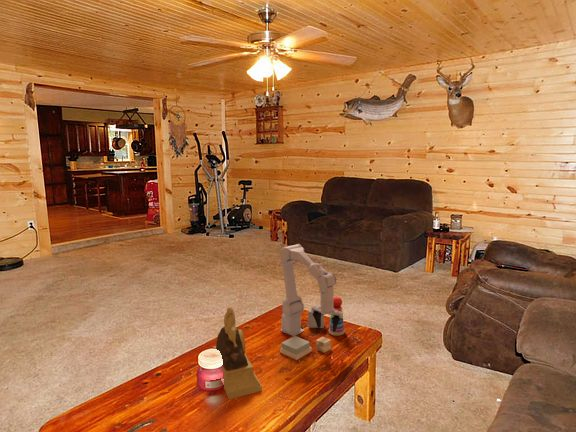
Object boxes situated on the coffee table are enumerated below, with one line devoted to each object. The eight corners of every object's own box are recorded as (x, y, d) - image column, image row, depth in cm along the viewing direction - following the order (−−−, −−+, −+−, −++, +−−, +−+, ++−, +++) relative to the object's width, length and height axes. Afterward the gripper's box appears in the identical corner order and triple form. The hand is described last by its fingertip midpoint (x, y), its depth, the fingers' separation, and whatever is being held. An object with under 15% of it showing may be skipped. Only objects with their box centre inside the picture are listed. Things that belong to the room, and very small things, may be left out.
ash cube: (316, 349, 177) (316, 340, 177) (322, 345, 181) (322, 336, 180) (324, 353, 174) (324, 343, 174) (330, 349, 178) (330, 339, 177)
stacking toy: (325, 332, 194) (325, 296, 191) (336, 327, 199) (337, 292, 196) (336, 338, 188) (336, 301, 185) (348, 333, 192) (348, 297, 189)
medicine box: (324, 324, 202) (324, 308, 201) (324, 328, 198) (324, 312, 197) (308, 324, 203) (308, 308, 202) (308, 328, 199) (308, 312, 197)
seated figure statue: (262, 391, 148) (259, 316, 143) (228, 399, 143) (225, 322, 138) (241, 355, 173) (238, 291, 168) (212, 362, 169) (209, 296, 164)
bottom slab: (280, 353, 176) (280, 348, 175) (295, 345, 183) (294, 340, 182) (296, 361, 169) (296, 356, 168) (311, 352, 176) (311, 347, 176)
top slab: (281, 348, 176) (281, 342, 175) (295, 340, 182) (294, 335, 182) (296, 354, 169) (296, 349, 169) (309, 347, 176) (309, 341, 175)
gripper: (308, 300, 174) (308, 329, 176) (338, 306, 166) (338, 336, 169) (315, 295, 180) (315, 322, 182) (344, 300, 173) (344, 329, 175)
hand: (326, 328), depth 176 cm, fingers open, 7 cm apart
